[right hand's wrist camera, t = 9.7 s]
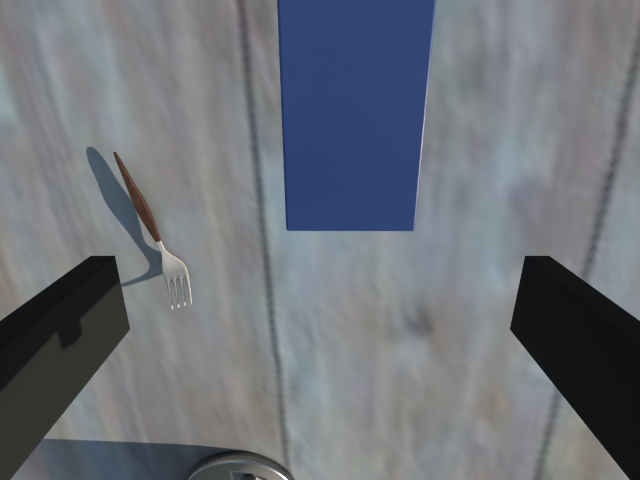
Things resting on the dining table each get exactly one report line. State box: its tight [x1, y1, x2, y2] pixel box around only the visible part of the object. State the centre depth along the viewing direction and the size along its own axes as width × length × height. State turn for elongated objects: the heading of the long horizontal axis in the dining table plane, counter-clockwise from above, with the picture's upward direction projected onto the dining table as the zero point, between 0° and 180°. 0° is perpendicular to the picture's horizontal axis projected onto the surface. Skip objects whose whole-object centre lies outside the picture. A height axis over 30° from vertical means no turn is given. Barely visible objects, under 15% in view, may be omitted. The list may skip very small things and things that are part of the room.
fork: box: [114, 152, 192, 309], centre depth 37 cm, size 3×16×2 cm, turn 16°
